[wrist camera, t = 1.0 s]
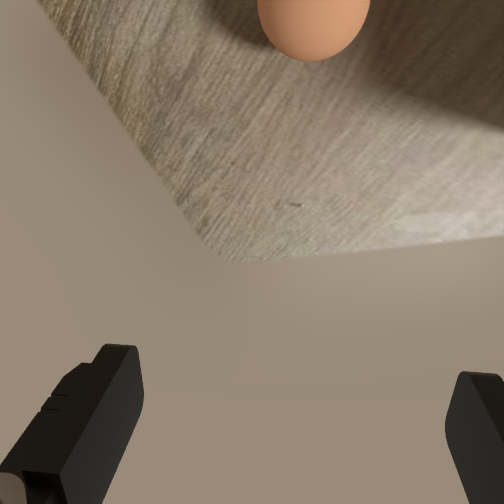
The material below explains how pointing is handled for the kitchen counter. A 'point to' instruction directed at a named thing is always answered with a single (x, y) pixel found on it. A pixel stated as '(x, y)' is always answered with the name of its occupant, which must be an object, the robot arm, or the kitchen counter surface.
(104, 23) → the kitchen counter surface
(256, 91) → the kitchen counter surface
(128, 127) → the kitchen counter surface
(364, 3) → the orange sphere
